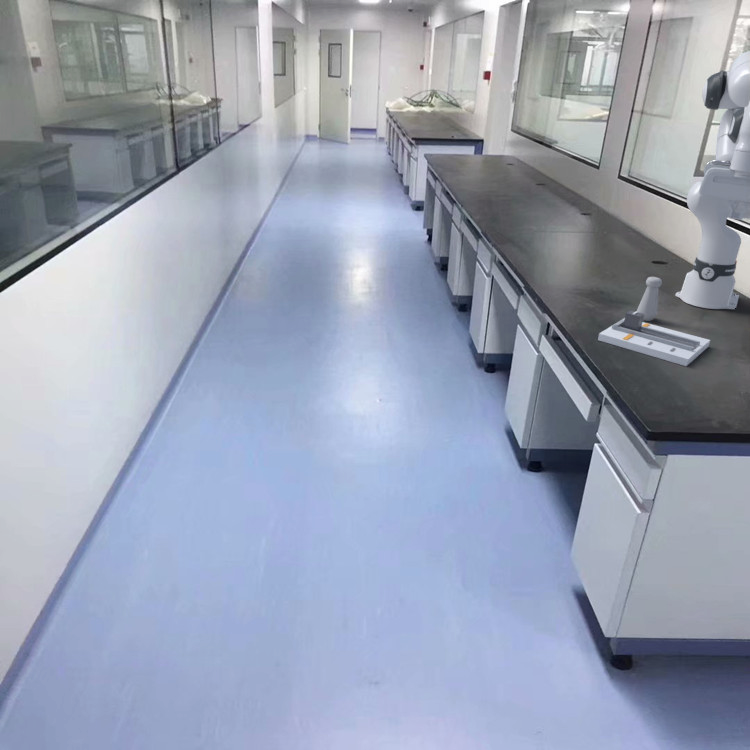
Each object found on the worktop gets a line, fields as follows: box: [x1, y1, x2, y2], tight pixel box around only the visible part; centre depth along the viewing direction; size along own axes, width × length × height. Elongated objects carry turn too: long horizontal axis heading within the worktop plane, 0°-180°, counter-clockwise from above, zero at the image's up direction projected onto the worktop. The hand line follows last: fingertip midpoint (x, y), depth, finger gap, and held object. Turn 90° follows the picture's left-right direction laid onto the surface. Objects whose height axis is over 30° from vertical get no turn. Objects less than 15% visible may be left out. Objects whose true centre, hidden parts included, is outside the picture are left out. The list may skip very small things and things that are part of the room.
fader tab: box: [623, 309, 644, 332], centre depth 175 cm, size 3×4×5 cm
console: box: [597, 317, 711, 367], centre depth 173 cm, size 18×24×4 cm
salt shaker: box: [636, 276, 663, 322], centre depth 188 cm, size 6×6×13 cm
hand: (735, 218), depth 162 cm, fingers closed
